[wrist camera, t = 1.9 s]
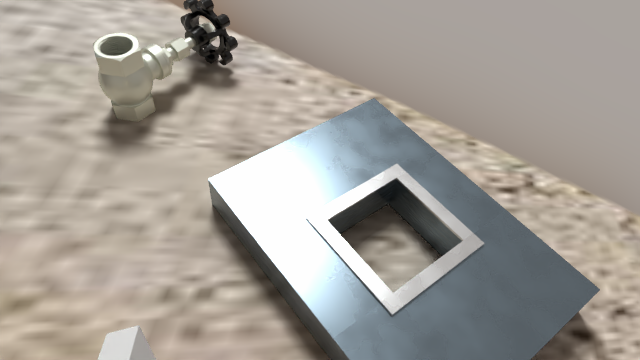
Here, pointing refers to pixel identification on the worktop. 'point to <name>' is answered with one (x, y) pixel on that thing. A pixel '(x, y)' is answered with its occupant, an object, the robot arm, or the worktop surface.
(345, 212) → the plate
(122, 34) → the valve
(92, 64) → the worktop surface
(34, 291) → the worktop surface
